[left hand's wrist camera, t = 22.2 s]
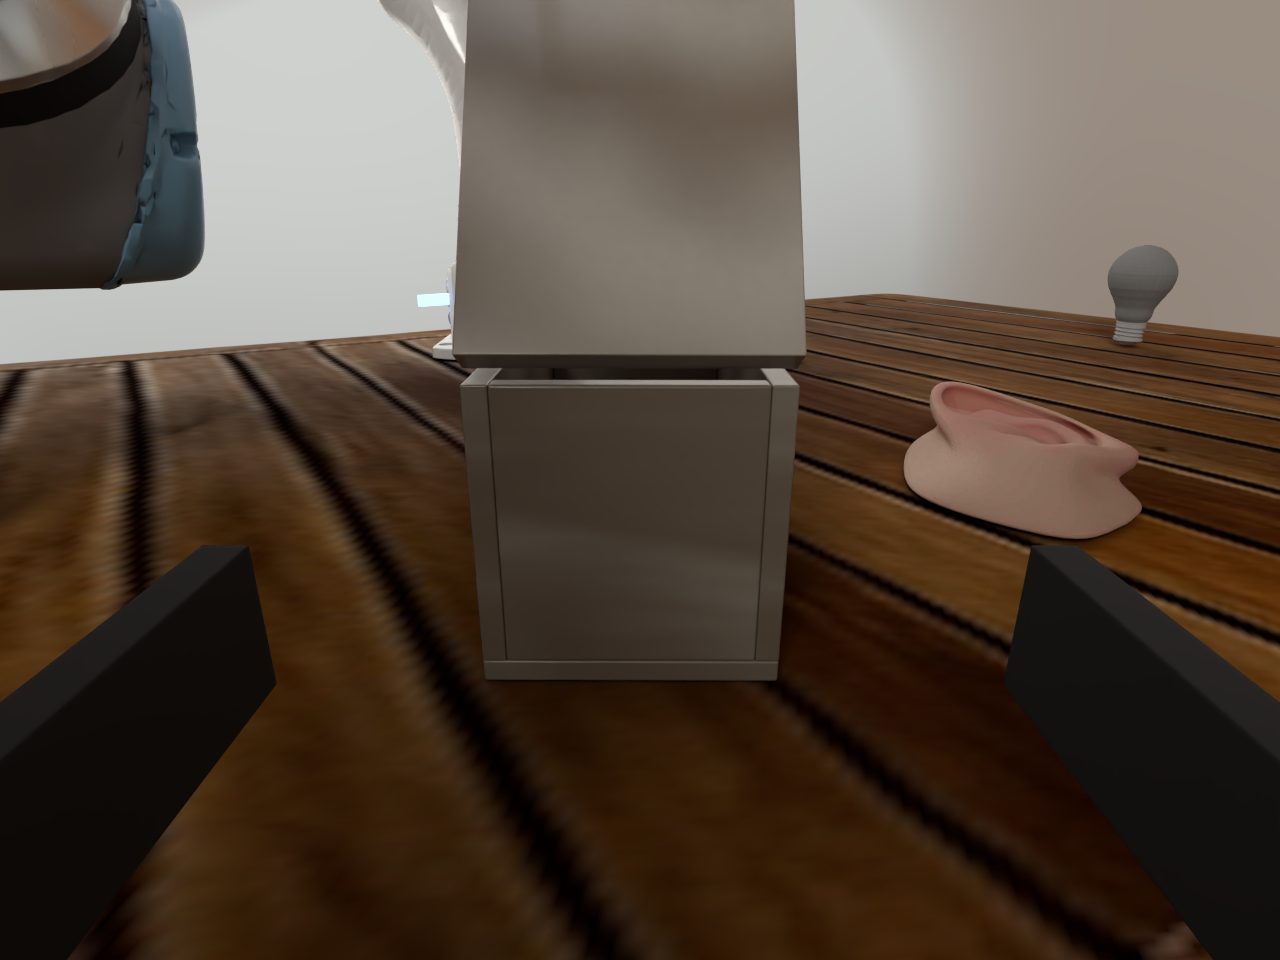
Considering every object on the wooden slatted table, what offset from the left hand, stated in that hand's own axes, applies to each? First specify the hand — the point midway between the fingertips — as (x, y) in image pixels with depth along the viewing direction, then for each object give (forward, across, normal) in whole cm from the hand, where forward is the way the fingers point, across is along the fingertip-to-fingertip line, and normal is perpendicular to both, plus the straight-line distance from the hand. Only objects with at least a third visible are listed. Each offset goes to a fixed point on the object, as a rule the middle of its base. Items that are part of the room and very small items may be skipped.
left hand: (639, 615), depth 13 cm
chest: (+16, 0, -7) cm, 18 cm away
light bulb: (+67, +52, -7) cm, 85 cm away
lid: (+13, 0, +10) cm, 16 cm away
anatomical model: (+25, +20, -7) cm, 33 cm away
